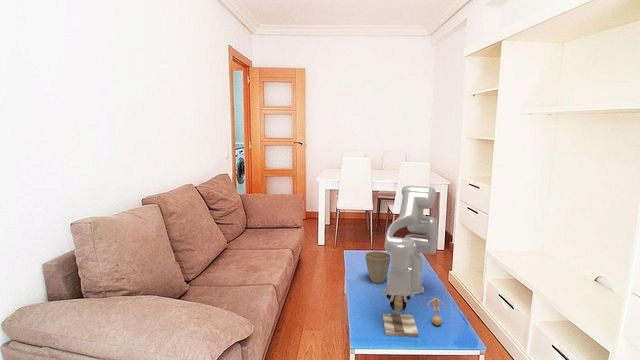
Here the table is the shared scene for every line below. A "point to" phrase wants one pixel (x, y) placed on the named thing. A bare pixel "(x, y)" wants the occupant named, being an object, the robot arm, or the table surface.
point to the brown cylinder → (398, 304)
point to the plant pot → (377, 265)
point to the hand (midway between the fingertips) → (397, 308)
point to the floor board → (400, 325)
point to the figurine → (435, 319)
